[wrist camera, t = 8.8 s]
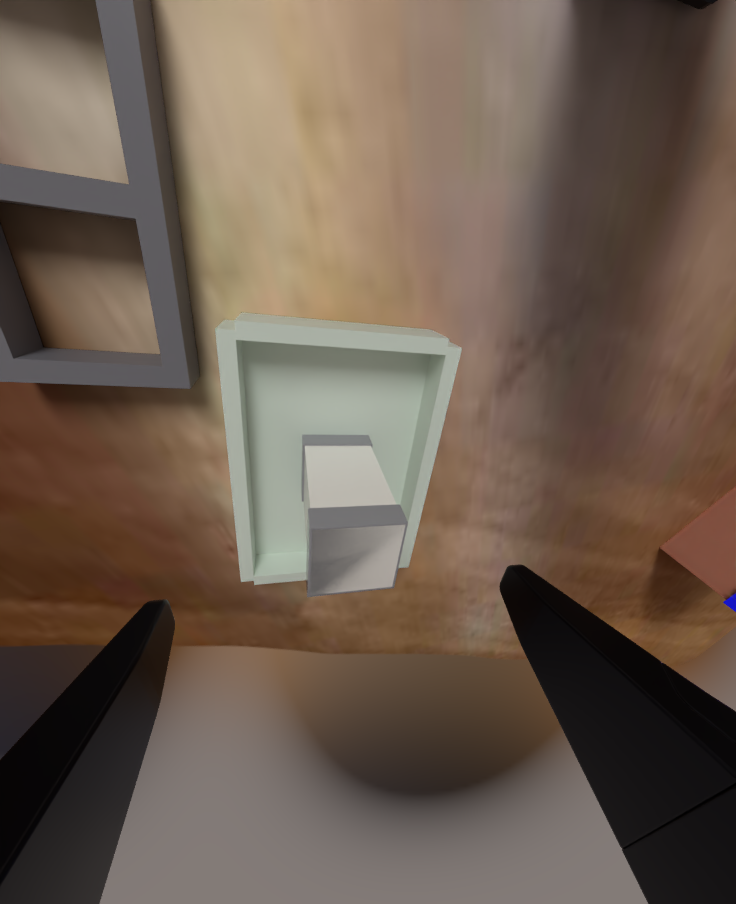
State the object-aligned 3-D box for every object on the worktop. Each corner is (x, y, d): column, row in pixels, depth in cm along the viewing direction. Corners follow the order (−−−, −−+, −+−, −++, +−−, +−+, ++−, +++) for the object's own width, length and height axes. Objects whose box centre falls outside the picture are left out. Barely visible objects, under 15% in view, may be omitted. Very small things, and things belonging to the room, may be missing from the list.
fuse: (368, 434, 20) (408, 522, 14) (361, 488, 22) (394, 588, 16) (302, 434, 20) (309, 528, 13) (301, 490, 21) (307, 597, 15)
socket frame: (143, -54, 11) (110, -124, 9) (199, 376, 17) (188, 391, 15) (-175, -153, 9) (-306, -269, 7) (25, 367, 16) (-13, 383, 14)
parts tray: (444, 330, 19) (463, 339, 17) (398, 546, 27) (407, 571, 25) (223, 310, 16) (213, 318, 14) (245, 557, 24) (241, 585, 22)
